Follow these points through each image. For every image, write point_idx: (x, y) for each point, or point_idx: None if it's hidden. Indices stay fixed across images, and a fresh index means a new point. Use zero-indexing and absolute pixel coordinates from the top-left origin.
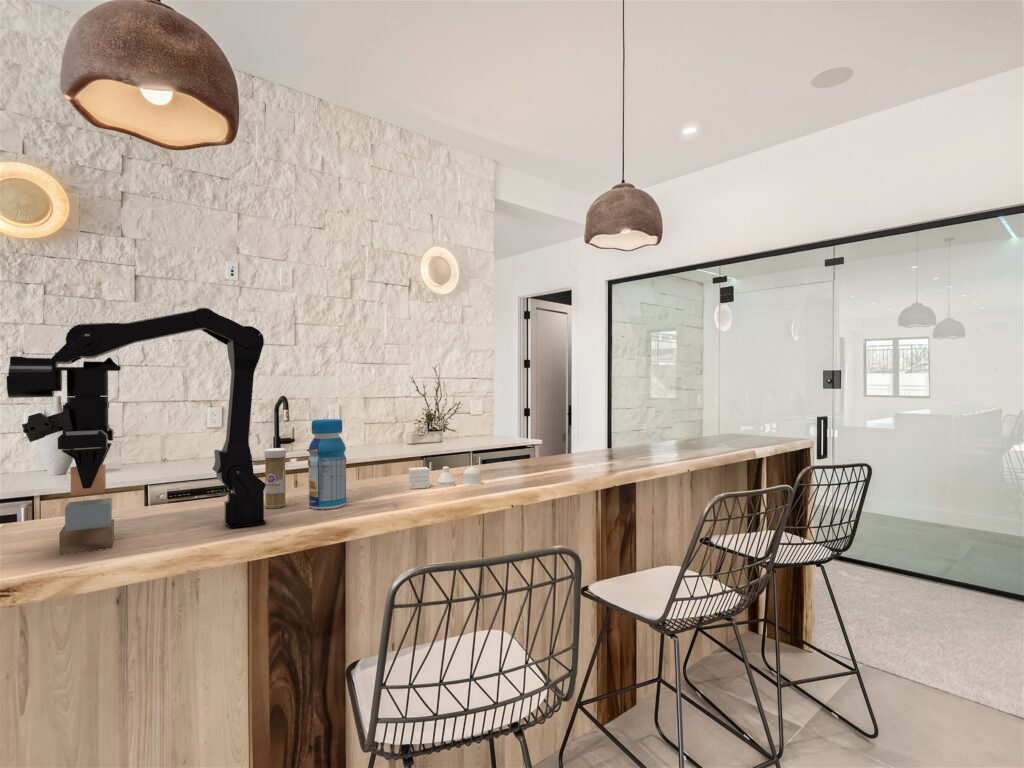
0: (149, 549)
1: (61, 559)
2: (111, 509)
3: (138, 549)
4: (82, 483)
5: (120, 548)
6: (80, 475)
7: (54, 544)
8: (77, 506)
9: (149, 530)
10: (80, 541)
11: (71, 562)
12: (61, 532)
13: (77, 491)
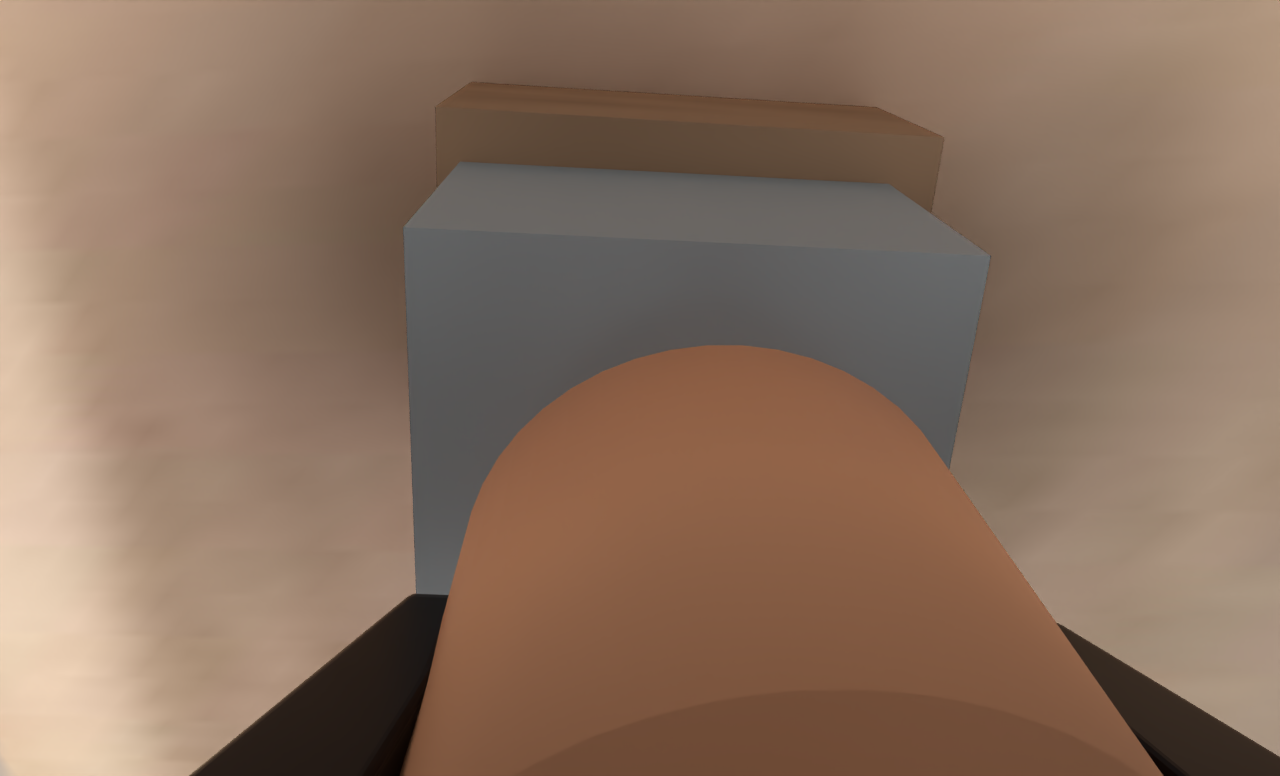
0: (241, 666)
1: (293, 106)
2: None
3: (291, 607)
4: (365, 648)
5: None
6: (225, 767)
7: (1028, 13)
8: (410, 377)
9: None
10: None
11: (123, 186)
12: (454, 126)
13: (505, 476)
